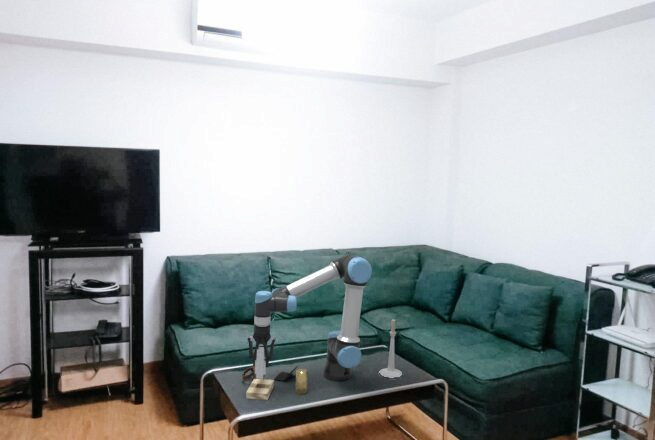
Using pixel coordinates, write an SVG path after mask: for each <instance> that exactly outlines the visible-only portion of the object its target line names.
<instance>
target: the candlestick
mask: <svg viewBox="0 0 655 440" xmlns="http://www.w3.org/2000/svg"><path fill="white" fill-rule="evenodd" d="M390 324H391V325H390V331H389V335H390V341H389V342H390V343H389V344H390V345H389V350H388V351H389V353H388V362H387V367H385V368H382V369H380V370H379V372H378V374H379V373H380V374H381V375H382V376H384V377H389V378H394V377H400V376H401V375H402V373H403V372H402V371H401V370H399V369H397V368H396V367H395V365H396V364H395V336H396V334H397V332H396V319H394V318H393V319H391V323H390Z"/></svg>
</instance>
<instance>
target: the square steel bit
mask: <svg viewBox="0 0 655 440" xmlns="http://www.w3.org/2000/svg"><path fill="white" fill-rule="evenodd" d="M256 358H257V363H256V377H255V379H265V376H266V373H265V374H263V372H264V360H265V352H264V347H263V346H259V348H258V349H257V357H256Z"/></svg>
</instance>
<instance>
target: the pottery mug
mask: <svg viewBox="0 0 655 440" xmlns="http://www.w3.org/2000/svg"><path fill="white" fill-rule="evenodd" d="M248 372H250V373H249V374H247V373H248ZM246 374H247V375H246ZM241 377H242V381H243V382H247V381H251V382H252V381H253V380H252V378H256V374H255V366H250V367H247V368H246V369H245V370H244V371H243V372H242V375H241Z"/></svg>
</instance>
